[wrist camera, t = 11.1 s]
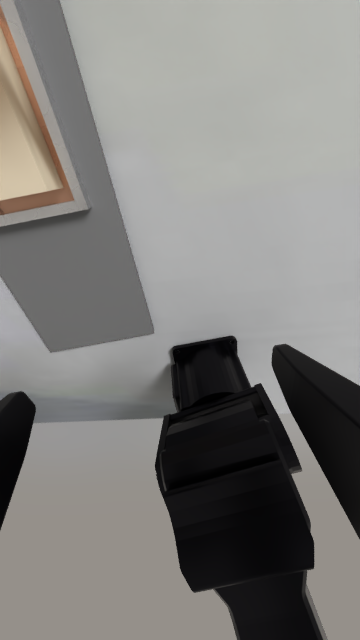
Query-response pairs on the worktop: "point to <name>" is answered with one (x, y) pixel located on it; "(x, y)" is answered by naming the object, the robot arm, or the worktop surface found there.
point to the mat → (74, 224)
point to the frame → (7, 12)
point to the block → (21, 137)
